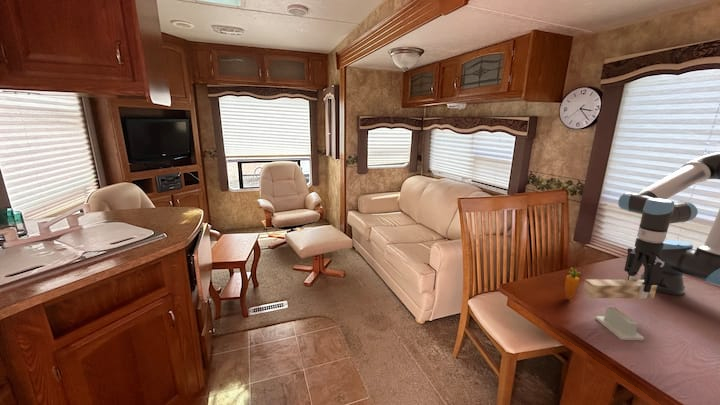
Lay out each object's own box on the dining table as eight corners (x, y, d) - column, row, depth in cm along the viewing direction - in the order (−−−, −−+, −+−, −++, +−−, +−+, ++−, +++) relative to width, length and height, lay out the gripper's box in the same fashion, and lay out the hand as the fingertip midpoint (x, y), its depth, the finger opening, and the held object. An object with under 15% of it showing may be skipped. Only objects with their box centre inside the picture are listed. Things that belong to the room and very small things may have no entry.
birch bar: (643, 291, 117) (646, 279, 116) (653, 298, 113) (657, 285, 112) (582, 291, 118) (585, 279, 117) (590, 297, 114) (593, 285, 112)
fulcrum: (615, 318, 116) (619, 305, 114) (643, 340, 104) (647, 325, 103) (595, 318, 116) (598, 305, 114) (621, 339, 104) (625, 325, 103)
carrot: (577, 303, 126) (584, 272, 122) (564, 302, 127) (571, 270, 123) (571, 296, 130) (578, 266, 126) (559, 295, 131) (565, 265, 127)
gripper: (620, 231, 118) (608, 282, 124) (663, 249, 101) (647, 307, 107) (639, 231, 117) (626, 282, 124) (685, 249, 101) (668, 307, 107)
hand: (636, 294), depth 115 cm, fingers closed on birch bar, 4 cm apart
